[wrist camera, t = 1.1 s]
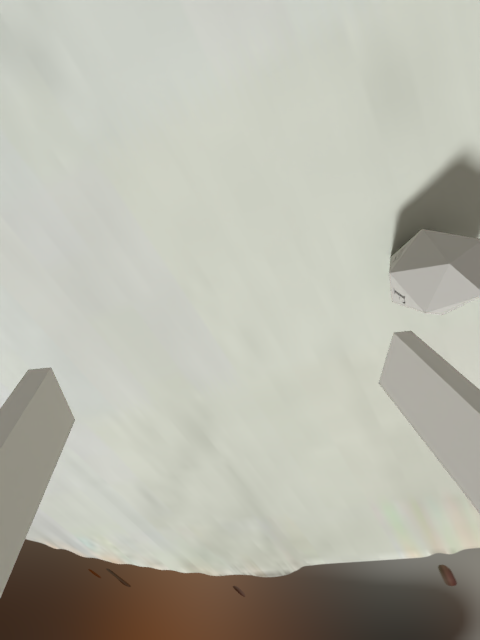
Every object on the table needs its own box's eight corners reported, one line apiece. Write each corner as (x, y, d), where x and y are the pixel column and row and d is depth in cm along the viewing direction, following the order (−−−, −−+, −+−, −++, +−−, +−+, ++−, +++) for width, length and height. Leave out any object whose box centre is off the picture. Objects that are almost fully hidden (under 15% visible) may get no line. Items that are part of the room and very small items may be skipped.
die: (393, 211, 31) (372, 284, 28) (500, 204, 26) (491, 291, 23) (396, 263, 37) (379, 328, 34) (484, 265, 32) (475, 341, 29)
